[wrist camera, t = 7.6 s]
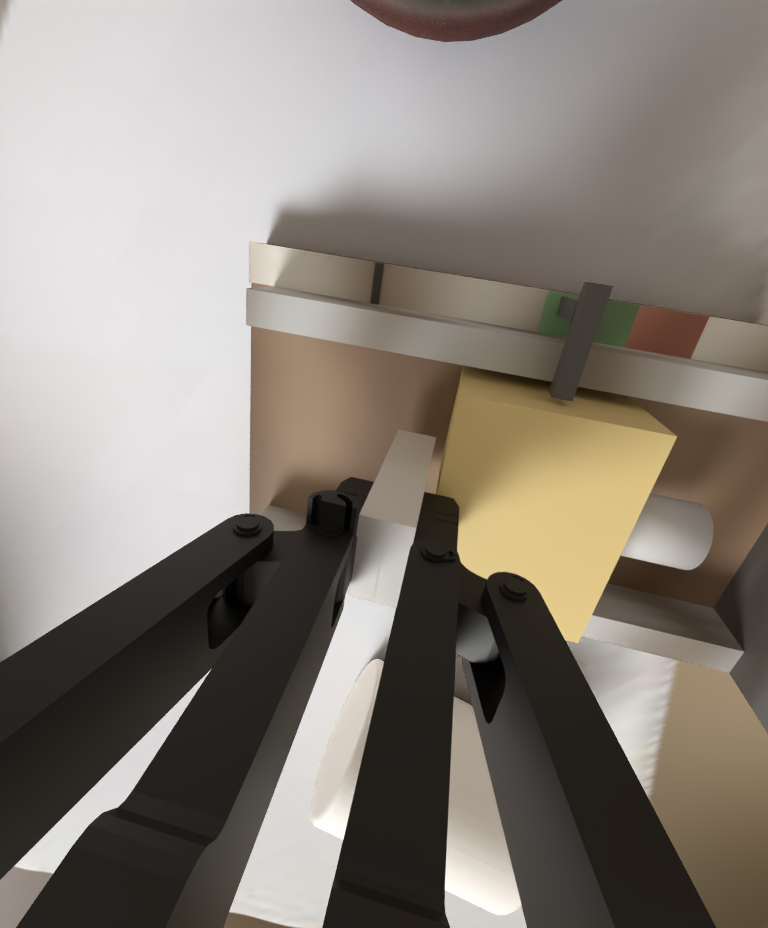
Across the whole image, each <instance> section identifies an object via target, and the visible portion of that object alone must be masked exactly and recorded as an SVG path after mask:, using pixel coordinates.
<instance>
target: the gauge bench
mask: <svg viewBox="0 0 768 928" xmlns="http://www.w3.org/2000/svg"><path fill="white" fill-rule="evenodd" d="M249 282H252V288H247V294H246V325H248V326H251V412H250V514H258V515H262V516H265V517H266V518H268V519H270V520H271V521H272V523H273V525H274V531H297V530H302V529H303V528H304V526H305V525H306V517H307V505H308V497H309V496H311V495H312V494H313V493H316V492H319V491H325V490H333V491H336V489H337V488H338V486H339V485H340V483H341V482H342V481H344V480H346V479H348V478H350V477H354V478H359V479H364V480H368V481H373V482H375V479H376V477H377V475H378V473H379V471H380V469H381V466H382V464H383V462H384V460H385V458H386V456H387V454H388V451H389V449H390V447H391V445H392V443H393V441H394V438H395V436H396V434H397V432H398V430H404V431H409V432H413V433H418V434H423V435H428V436H433V437H436V440H435V445H434V449H433V454H432V459H431V463H430V468H429V473H428V477H427V482H426V486H425V491H424V492H427V493H432V494H434V492H435V487H436V483H437V479H438V474H439V470H440V465H441V461H442V456H443V452H444V447H445V443H446V439H447V434H448V430H449V425H450V421H451V416H452V412H453V407H454V403H455V399H456V394H457V390H458V385H459V381H460V376H461V372H462V368H463V365H464V366H469V367H475V368H480V369H486V370H491V371H496V372H502V373H507V374H513V375H518V376H523V377H529V378H534V379H540V380H545V381H550V382H552V381H553V378H554V375H555V371H556V368H557V365H558V362H559V359H560V356H561V353H562V350H563V347H564V343H565V340H566V337H567V334H568V331H569V328H570V325H571V322H569V321H567V320H565V319H563V318H562V317H560V316H558V315H556V314H557V310H558V307H559V304H560V301H561V297H562V296H565V297H571V298H577V299H579V297H580V295H578V294H572V293H566V292H560V291H554V290H548V289H541V288H535V287H529V286H523V285H517V284H511V283H505V282H498V281H492V280H486V279H480V278H474V277H468V276H461V275H455V274H449V273H443V272H437V271H431V270H425V269H418V268H412V267H406V266H400V265H394V264H388V263H382V262H375V261H369V260H363V259H357V258H351V257H345V256H338V255H332V254H326V253H320V252H314V251H308V250H302V249H295V248H289V247H283V246H277V245H271V244H264V243H256V242H249ZM578 387H583V388H588V389H594V390H599V391H604V392H610V393H615V394H621V395H626V396H628V397H630V398H631V399H632V400H633V401H635V402H636V403H637V404H638V405H639V406H641V407H642V408H643V409H644V410H646V411H647V412H648V413H649V414H650V415H652V416H653V417H654V418H655V419H657V420H658V421H659V422H660V423H661V424H663V425H664V426H665V427H666V428H668V429H669V430H670V431H671V432H672V433H674V434H675V435H676V436H677V438H676V440H675V442H674V445H673V447H672V449H671V451H670V453H669V455H668V457H667V459H666V461H665V463H664V465H663V467H662V470H661V472H660V474H659V476H658V478H657V480H656V482H655V484H654V486H653V488H652V490H651V493H653V494H658V495H662V496H667V497H672V498H677V499H682V500H686V501H691V502H696V503H700V504H702V505H704V506H705V507H706V508H707V509H708V511H709V512H710V515H711V517H712V521H713V540H712V544H711V548H710V550H709V553H708V554H707V556H706V558H705V559H704V561H703V562H702V563H701V564H700V565H699V566H698V567H696V568H694V569H692V570H683V569H678V568H674V567H670V566H665V565H661V564H656V563H652V562H647V561H643V560H638V559H634V558H629V557H625V556H621V555H620V557H619V559H618V561H617V564H616V566H615V568H614V570H613V572H612V574H611V576H610V578H609V580H608V582H607V584H606V586H605V589H604V591H603V593H602V595H601V597H600V599H599V601H598V603H597V605H596V607H595V609H594V612H593V614H592V616H591V618H590V620H589V622H588V624H587V626H586V628H585V630H584V632H583V635H582V637H586V638H590V639H594V640H598V641H602V642H606V643H610V644H614V645H618V646H622V647H626V648H630V649H634V650H639V651H643V652H647V653H651V654H655V655H659V656H663V657H667V658H671V659H675V660H679V661H683V662H687V663H691V664H695V665H700V666H704V667H708V668H712V669H716V670H720V671H724V672H728V673H730V675H731V676H732V678H733V680H734V681H735V683H736V684H737V686H738V687H739V689H740V691H741V692H742V694H743V695H744V697H745V699H746V700H747V702H748V703H749V705H750V706H751V708H752V709H753V711H754V713H755V714H756V716H757V718H758V719H759V720H760V722H761V724H762V725H763V727H764V728H765V730H766V732H767V733H768V325H763V324H757V323H750V322H744V321H738V320H732V319H726V318H720V317H714V316H707V315H701V314H695V313H689V312H683V311H677V310H671V309H664V308H658V307H652V306H646V305H640V304H634V303H628V302H621V301H615V300H609V299H608V301H607V304H606V307H605V310H604V312H603V315H602V318H601V321H600V324H599V327H598V330H597V332H596V335H595V338H594V341H593V344H592V347H591V350H590V353H589V355H588V358H587V361H586V364H585V367H584V370H583V373H582V375H581V378H580V381H579V384H578Z"/></svg>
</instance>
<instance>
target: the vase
mask: <svg viewBox="0 0 768 928" xmlns="http://www.w3.org/2000/svg"><path fill="white" fill-rule="evenodd" d="M351 1H352V2H353V3H354V4H355V5H357V6H358V7H360V8H361V9H363V10H364V11H366V12H367V13H369V14H370V15H372V16H374V17H375V18H377V19H378V20H380V21H381V22H383V23H384V24H386V25H388V26H390V27H393V28H395V29H398V30H400V31H403V32H405V33H408V34H410V35H413V36H415V37H419V38H425V39H431V40H436V41H442V42H452V41H473V40H477V39H481V38H485V37H489V36H493V35H497V34H502V33H504V32H506V31H508V30H511V29H513V28H515V27H517V26H520V25H522V24H524V23H527V22H529V21H531V20H533V19H534V18H536V17H537V16H539V15H540V14H542V13H544V12H545V11H547V10H548V9H550V8H551V7H553V6H554V5H556V4H557V3H559V2H561V1H562V0H351Z"/></svg>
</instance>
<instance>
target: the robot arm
mask: <svg viewBox="0 0 768 928" xmlns="http://www.w3.org/2000/svg"><path fill="white" fill-rule="evenodd" d="M435 440H436V437H433V436H428V435H423V434H418V433H413V432H409V431H404V430H398V432H397V434H396V436H395V438H394V441H393V443H392V445H391V447H390V449H389V451H388V454H387V456H386V458H385V460H384V462H383V464H382V466H381V469H380V471H379V473H378V475H377V477H376V479H375V482H373V481H368V480H364V479H359V478H354V477H350V478H348V479H346V480H344V481H342V482H341V483H340V485H339V486H338V488H337V489H336V491H333V490H325V491H319V492H316V493H313V494H312V495H311V496H309V497H308V505H307V517H306V525H305V526H304V528H303V529H302V530H297V531H274V525H273V523H272V521H271V520H270V519H268V518H266V517H265V516H262V515H258V514H240V515H235V516H233V517H231V518H228V519H227V520H225V521H223V522H222V523H220V524H219V525H217V526H216V527H214V528H212V529H211V530H209V531H208V532H206V533H204V534H203V535H201V536H200V537H198V538H197V539H195V540H193V541H192V542H190V543H189V544H187V545H185V546H184V547H182V548H181V549H179V550H178V551H176V552H174V553H173V554H171V555H170V556H168V557H167V558H165V559H163V560H162V561H160V562H159V563H157V564H155V565H154V566H152V567H151V568H149V569H148V570H146V571H144V572H143V573H141V574H140V575H138V576H136V577H135V578H133V579H132V580H130V581H129V582H127V583H125V584H124V585H122V586H121V587H119V588H117V589H116V590H114V591H113V592H111V593H110V594H108V595H106V596H105V597H103V598H102V599H100V600H99V601H97V602H95V603H94V604H92V605H91V606H89V607H87V608H86V609H84V610H83V611H81V612H80V613H78V614H76V615H75V616H73V617H72V618H70V619H68V620H67V621H65V622H64V623H62V624H61V625H59V626H57V627H56V628H54V629H53V630H51V631H49V632H48V633H46V634H45V635H43V636H42V637H40V638H38V639H37V640H35V641H34V642H32V643H31V644H29V645H27V646H26V647H24V648H23V649H21V650H19V651H18V652H16V653H15V654H13V655H12V656H10V657H8V658H7V659H5V660H4V661H2V662H0V879H1V878H2V877H3V876H4V875H5V874H6V873H7V872H8V871H9V870H10V869H11V868H12V867H13V866H14V865H15V864H16V863H17V862H18V861H19V860H20V859H21V858H22V857H23V856H24V855H25V854H26V853H27V852H28V851H29V850H30V849H31V848H32V847H33V846H34V845H35V844H36V843H37V842H38V841H39V840H40V839H41V838H42V837H43V836H44V835H45V834H46V833H47V832H48V831H49V830H50V829H51V828H52V827H53V826H54V825H55V824H56V823H57V822H58V821H59V820H60V819H61V818H62V817H63V816H64V815H65V814H66V813H67V812H68V811H69V810H70V809H71V808H72V807H73V806H74V805H75V804H76V803H77V802H78V801H79V800H80V799H81V798H82V797H83V796H84V795H85V794H86V793H87V792H88V791H89V790H90V789H91V788H92V787H93V786H94V785H95V784H96V783H97V782H98V781H99V780H100V779H101V778H102V777H103V776H104V775H105V774H106V773H107V772H108V771H109V770H110V769H111V768H112V767H113V766H114V765H115V764H116V763H117V762H118V761H119V760H120V759H121V758H122V757H123V756H124V755H125V754H126V753H127V752H128V751H129V750H130V749H131V748H133V746H134V745H136V744H137V743H138V741H140V740H141V739H142V738H143V737H144V736H145V735H146V734H147V733H148V732H149V731H150V730H151V729H152V728H153V727H154V726H155V725H156V724H157V723H158V722H159V721H160V720H161V719H162V718H163V717H164V716H165V715H166V714H167V713H168V712H169V711H170V710H171V709H172V708H173V707H174V706H175V705H176V704H177V703H178V702H179V701H180V700H181V699H182V698H183V697H184V696H185V695H186V694H187V693H188V692H189V691H190V690H191V689H192V688H193V687H194V686H195V685H196V684H197V683H198V682H199V681H200V680H201V679H202V678H203V677H204V676H205V675H206V674H207V673H208V672H209V671H210V670H211V671H210V672H209V674H208V675H207V677H206V678H205V680H204V682H203V683H202V685H201V686H200V688H199V689H198V691H197V692H196V694H195V695H194V697H193V698H192V700H191V702H190V703H189V705H188V706H187V708H186V709H185V711H184V712H183V714H182V715H181V717H180V718H179V720H178V722H177V723H176V725H175V726H174V728H173V729H172V731H171V732H170V734H169V735H168V737H167V739H166V740H165V742H164V743H163V745H162V746H161V748H160V749H159V751H158V752H157V754H156V755H155V757H154V759H153V760H152V762H151V763H150V765H149V766H148V768H147V769H146V771H145V772H144V774H143V775H142V777H141V779H140V780H139V782H138V783H137V785H136V786H135V788H134V789H133V791H132V792H131V793H130V795H129V796H128V797H127V799H126V800H125V801H124V802H123V803H122V804H121V805H120V806H119V807H118V808H115V809H112V810H109V811H106V812H104V813H102V814H101V815H100V816H98V817H97V818H96V819H95V820H94V821H93V822H92V823H91V824H90V825H89V826H88V827H87V828H86V830H85V831H84V832H83V833H82V835H81V836H80V837H79V838H78V840H77V841H76V842H75V844H74V845H73V846H72V848H71V849H70V850H69V852H68V853H67V855H66V856H65V858H64V859H63V861H62V862H61V864H60V865H59V866H58V868H57V869H56V871H55V872H54V874H53V875H52V877H51V878H50V879H49V881H48V882H47V884H46V885H45V887H44V888H43V890H42V891H41V892H40V894H39V895H38V897H37V898H36V900H35V901H34V903H33V904H32V906H31V907H30V909H29V910H28V911H27V913H26V914H25V916H24V917H23V919H22V920H21V921H20V923H19V924H18V926H17V927H16V928H223V927H224V924H225V921H226V918H227V915H228V913H229V910H230V907H231V905H232V902H233V899H234V897H235V894H236V891H237V889H238V886H239V883H240V881H241V878H242V875H243V873H244V870H245V868H246V865H247V862H248V860H249V857H250V854H251V852H252V849H253V846H254V844H255V841H256V838H257V836H258V833H259V830H260V828H261V825H262V822H263V820H264V817H265V815H266V812H267V809H268V807H269V804H270V801H271V799H272V796H273V793H274V791H275V788H276V785H277V783H278V780H279V777H280V775H281V772H282V769H283V767H284V764H285V762H286V759H287V756H288V754H289V751H290V748H291V746H292V743H293V740H294V738H295V735H296V732H297V730H298V727H299V724H300V722H301V719H302V717H303V714H304V711H305V709H306V706H307V703H308V701H309V698H310V695H311V693H312V690H313V687H314V685H315V682H316V679H317V677H318V674H319V671H320V669H321V666H322V664H323V661H324V658H325V656H326V653H327V650H328V648H329V645H330V642H331V640H332V637H333V634H334V632H335V629H336V626H337V624H338V621H339V618H340V616H341V613H342V611H343V606H344V599H345V594H346V591H347V589H348V586H349V589H348V596H352V597H356V598H360V599H364V600H368V601H372V602H376V603H380V604H384V605H388V606H392V607H396V612H395V616H394V621H393V625H392V629H391V634H390V638H389V643H388V647H387V651H386V656H385V660H384V664H383V669H382V673H381V677H380V682H379V686H378V691H377V695H376V699H375V704H374V708H373V712H372V717H371V721H370V725H369V730H368V734H367V739H366V743H365V747H364V752H363V756H362V760H361V765H360V769H359V773H358V778H357V782H356V787H355V791H354V795H353V800H352V804H351V808H350V813H349V817H348V821H347V826H346V830H345V835H344V839H343V843H342V848H341V852H340V856H339V861H338V865H337V869H336V874H335V878H334V881H333V885H332V889H331V893H330V898H329V902H328V906H327V910H326V915H325V919H324V923H323V928H450V926H449V923H448V920H447V917H446V914H445V904H444V900H445V872H446V851H447V830H448V808H449V787H450V766H451V745H452V724H453V702H454V681H455V660H456V654H458V655H460V656H462V665H463V669H464V673H465V677H466V681H467V685H468V689H469V693H470V697H471V701H472V705H473V710H474V714H475V718H476V722H477V726H478V730H479V734H480V738H481V742H482V746H483V750H484V754H485V758H486V762H487V766H488V770H489V775H490V779H491V783H492V787H493V791H494V795H495V799H496V803H497V807H498V811H499V815H500V819H501V823H502V827H503V831H504V835H505V839H506V844H507V848H508V852H509V856H510V860H511V864H512V868H513V872H514V876H515V880H516V884H517V888H518V892H519V896H520V900H521V904H522V909H523V913H524V917H525V921H526V925H527V928H716V926H715V924H714V923H713V921H712V919H711V917H710V915H709V913H708V911H707V909H706V907H705V906H704V904H703V902H702V900H701V898H700V896H699V894H698V892H697V890H696V888H695V886H694V884H693V883H692V881H691V879H690V877H689V875H688V873H687V871H686V869H685V867H684V865H683V864H682V862H681V860H680V858H679V856H678V854H677V852H676V850H675V848H674V846H673V845H672V843H671V841H670V839H669V837H668V835H667V833H666V831H665V830H664V827H663V826H662V824H661V822H660V820H659V818H658V816H657V815H656V812H655V810H654V808H653V806H652V805H651V803H650V801H649V799H648V797H647V795H646V793H645V791H644V789H643V787H642V786H641V784H640V782H639V780H638V778H637V776H636V774H635V772H634V770H633V768H632V767H631V765H630V763H629V761H628V759H627V757H626V755H625V753H624V751H623V749H622V748H621V746H620V744H619V742H618V740H617V738H616V736H615V734H614V732H613V730H612V729H611V727H610V725H609V723H608V721H607V719H606V717H605V715H604V713H603V711H602V709H601V708H600V706H599V704H598V702H597V700H596V698H595V696H594V694H593V692H592V690H591V689H590V687H589V685H588V683H587V681H586V679H585V677H584V675H583V673H582V671H581V670H580V668H579V666H578V664H577V662H576V660H575V658H574V656H573V654H572V652H571V651H570V649H569V647H568V645H567V643H566V641H565V639H564V637H563V635H562V633H561V632H560V630H559V628H558V626H557V624H556V622H555V620H554V618H553V616H552V614H551V612H550V611H549V609H548V607H547V605H546V603H545V601H544V599H543V597H542V595H541V593H540V592H539V590H538V589H537V588H536V587H535V585H534V584H532V583H531V582H530V581H528V580H527V579H526V578H524V577H521V576H519V575H517V574H514V573H509V572H496V573H494V574H492V575H490V576H489V577H488V579H485V578H483V577H481V576H479V575H477V574H475V573H473V572H471V571H470V570H468V569H467V568H466V567H465V566H464V565H463V564H462V563H461V562H460V557H459V553H458V552H457V544H458V524H459V506H458V504H457V503H456V501H455V500H454V498H450V497H445V496H441V495H436V494H432V493H427V492H424V491H425V486H426V482H427V477H428V473H429V468H430V463H431V459H432V454H433V449H434V445H435Z"/></svg>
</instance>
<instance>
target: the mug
mask: <svg viewBox="0 0 768 928" xmlns="http://www.w3.org/2000/svg"><path fill="white" fill-rule="evenodd" d="M383 664H384V661H382V660H380V659H374V660H372V661H371V662H370V663H369V664H368V665H367V666H366V667H365V668H364V669H363V671H362V672H361V674H360V675H359V677H358V678H357V680H356V682H355V683H354V685H353V687H352V689H351V691H350V693H349V695H348V697H347V699H346V701H345V703H344V705H343V707H342V709H341V711H340V714H339V716H338V718H337V721H336V723H335V726H334V728H333V730H332V733H331V736H330V738H329V741H328V744H327V746H326V749H325V752H324V755H323V758H322V761H321V764H320V767H319V771H318V774H317V778H316V781H315V785H314V790H313V794H312V800H311V809H310V815H311V820H312V823H313V824H314V826H316V827H318V828H320V829H322V830H324V831H326V832H328V833H330V834H332V835H334V836H336V837H338V838H340V839H342V840H343V839H344V835H345V830H346V826H347V821H348V817H349V813H350V808H351V804H352V800H353V795H354V791H355V787H356V782H357V778H358V773H359V769H360V765H361V760H362V756H363V752H364V747H365V743H366V739H367V734H368V730H369V725H370V721H371V717H372V712H373V708H374V704H375V699H376V695H377V691H378V686H379V682H380V677H381V673H382V669H383ZM445 890H446V891H448V892H450V893H452V894H454V895H456V896H459V897H461V898H463V899H465V900H467V901H469V902H471V903H473V904H475V905H477V906H479V907H481V908H483V909H485V910H487V911H489V912H491V913H493V914H497V915H506V914H510V913H512V912H514V911H516V910H517V909H518V908H520V907H521V906H522V904H521V900H520V896H519V892H518V888H517V884H516V880H515V876H514V872H513V868H512V864H511V860H510V856H509V852H508V848H507V844H506V839H505V835H504V831H503V827H502V823H501V819H500V815H499V811H498V807H497V803H496V799H495V795H494V791H493V787H492V783H491V779H490V775H489V770H488V766H487V762H486V758H485V754H484V750H483V746H482V742H481V738H480V734H479V730H478V726H477V722H476V718H475V714H474V710H473V706H472V705H470V704H468V703H466V702H464V701H462V700H460V699H458V698H456V697H454V702H453V724H452V745H451V766H450V787H449V808H448V830H447V851H446V872H445Z"/></svg>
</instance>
